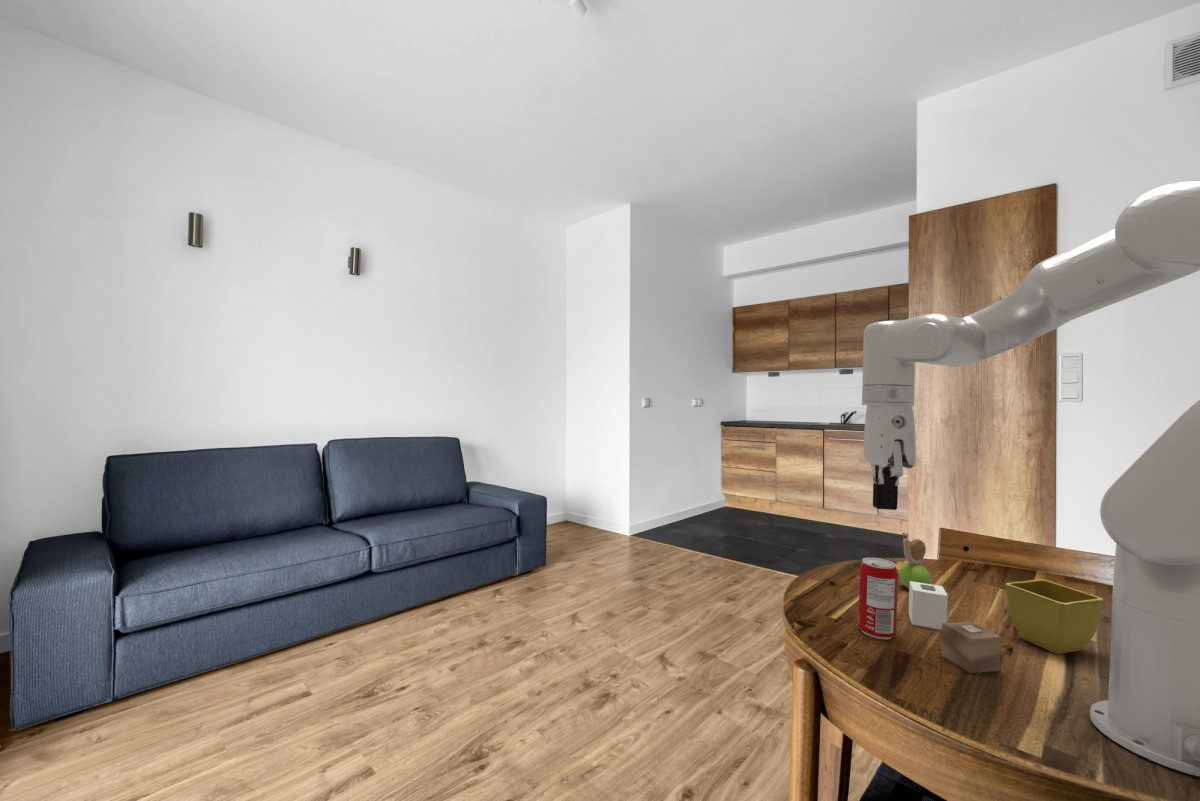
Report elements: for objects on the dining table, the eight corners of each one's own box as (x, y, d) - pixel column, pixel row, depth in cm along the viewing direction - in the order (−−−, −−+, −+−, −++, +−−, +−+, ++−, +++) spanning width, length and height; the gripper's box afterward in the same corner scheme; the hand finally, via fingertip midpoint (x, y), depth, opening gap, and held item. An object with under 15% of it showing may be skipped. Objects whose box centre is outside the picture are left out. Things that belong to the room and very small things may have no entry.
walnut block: (999, 671, 73) (1001, 635, 73) (970, 673, 73) (971, 637, 72) (969, 653, 78) (970, 620, 78) (940, 655, 77) (942, 621, 77)
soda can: (876, 623, 88) (878, 554, 88) (903, 638, 83) (906, 564, 83) (850, 627, 86) (852, 556, 86) (877, 642, 81) (879, 567, 81)
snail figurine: (889, 587, 105) (891, 529, 105) (910, 583, 108) (911, 527, 108) (915, 597, 100) (917, 536, 100) (936, 592, 103) (938, 533, 103)
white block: (946, 631, 86) (947, 594, 86) (911, 624, 88) (913, 589, 88) (941, 619, 90) (942, 585, 90) (908, 613, 93) (909, 579, 92)
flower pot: (1062, 663, 76) (1064, 603, 76) (1001, 636, 84) (1003, 582, 84) (1103, 656, 78) (1105, 598, 78) (1040, 631, 87) (1042, 578, 87)
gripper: (934, 397, 76) (930, 520, 76) (894, 397, 90) (891, 501, 90) (879, 396, 77) (876, 517, 77) (849, 396, 92) (846, 498, 92)
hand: (884, 508), depth 84 cm, fingers closed
